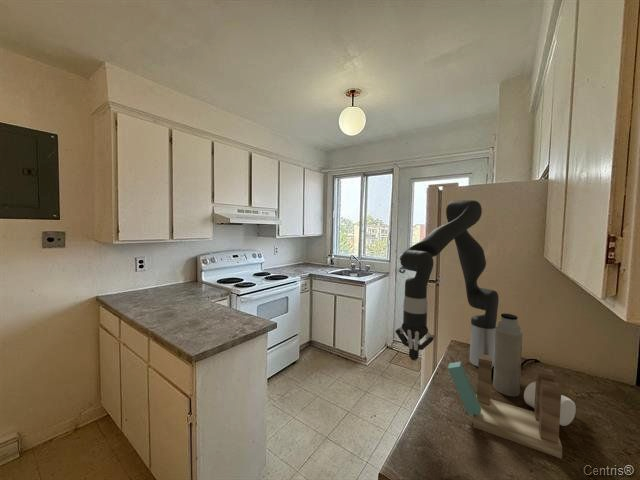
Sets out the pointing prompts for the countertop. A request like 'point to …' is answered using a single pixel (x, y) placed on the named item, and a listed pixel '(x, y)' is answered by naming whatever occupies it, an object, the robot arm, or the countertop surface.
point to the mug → (565, 409)
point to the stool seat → (521, 412)
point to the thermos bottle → (507, 356)
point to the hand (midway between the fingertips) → (413, 359)
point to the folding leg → (464, 388)
